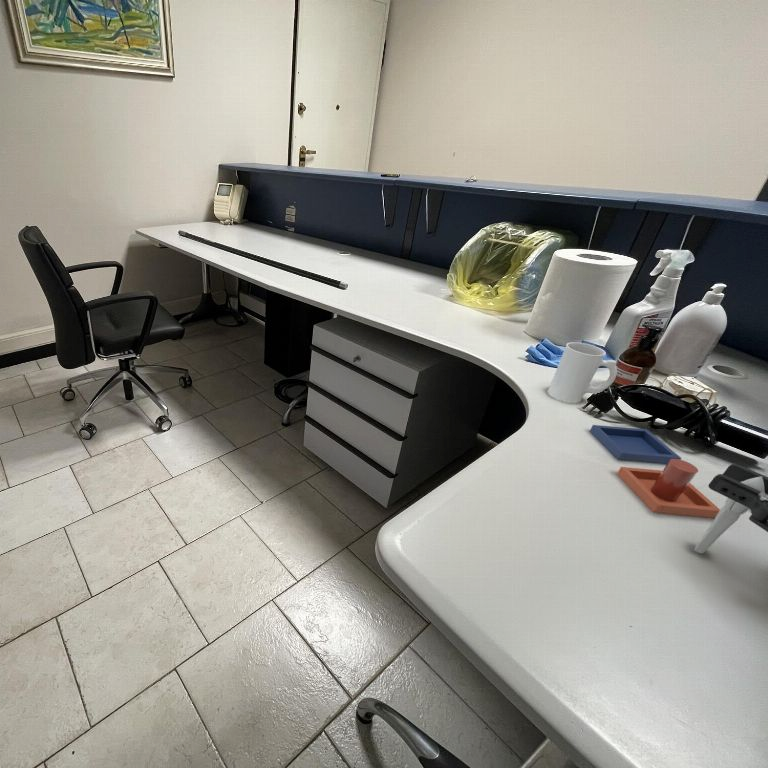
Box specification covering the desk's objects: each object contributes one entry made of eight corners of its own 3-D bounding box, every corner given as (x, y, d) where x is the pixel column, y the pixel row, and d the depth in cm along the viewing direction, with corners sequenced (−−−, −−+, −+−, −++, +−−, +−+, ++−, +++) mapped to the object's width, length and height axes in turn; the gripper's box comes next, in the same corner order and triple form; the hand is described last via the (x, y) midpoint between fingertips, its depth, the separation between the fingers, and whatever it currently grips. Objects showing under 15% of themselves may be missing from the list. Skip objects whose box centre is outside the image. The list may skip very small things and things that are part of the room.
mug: (543, 397, 91) (564, 348, 85) (548, 386, 96) (568, 339, 90) (598, 414, 85) (625, 363, 79) (601, 401, 90) (626, 352, 84)
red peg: (666, 488, 66) (687, 459, 63) (682, 502, 63) (704, 473, 60) (645, 486, 66) (664, 457, 63) (659, 500, 63) (680, 471, 60)
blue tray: (641, 437, 79) (646, 429, 78) (675, 467, 71) (681, 458, 70) (588, 433, 80) (592, 424, 78) (616, 462, 72) (621, 453, 71)
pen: (710, 553, 56) (776, 476, 49) (708, 565, 54) (777, 487, 47) (685, 542, 57) (746, 466, 50) (683, 553, 56) (746, 476, 49)
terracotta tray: (670, 481, 68) (677, 471, 67) (714, 521, 61) (722, 511, 60) (615, 476, 69) (621, 466, 68) (651, 514, 62) (658, 505, 61)
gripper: (1006, 530, 40) (758, 435, 53) (986, 593, 34) (713, 469, 47) (940, 578, 44) (724, 478, 57) (912, 642, 38) (679, 514, 51)
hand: (720, 475), depth 52 cm, fingers open, 3 cm apart
